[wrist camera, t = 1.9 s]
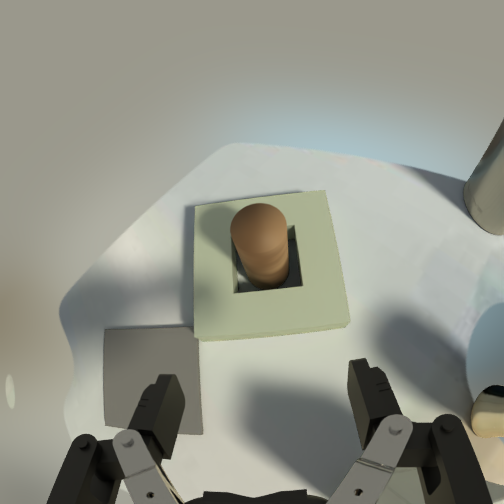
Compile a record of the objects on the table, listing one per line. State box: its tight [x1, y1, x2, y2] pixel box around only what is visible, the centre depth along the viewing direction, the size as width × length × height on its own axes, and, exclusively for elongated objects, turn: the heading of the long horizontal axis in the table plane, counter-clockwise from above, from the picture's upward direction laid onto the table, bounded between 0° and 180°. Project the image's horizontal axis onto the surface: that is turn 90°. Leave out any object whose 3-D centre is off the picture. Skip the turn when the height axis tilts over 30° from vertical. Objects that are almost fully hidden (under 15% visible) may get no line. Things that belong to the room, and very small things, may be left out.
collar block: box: [194, 190, 350, 342], centre depth 30 cm, size 14×14×3 cm
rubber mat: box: [104, 327, 203, 435], centre depth 28 cm, size 11×11×1 cm
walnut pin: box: [230, 203, 289, 290], centre depth 28 cm, size 4×4×9 cm
